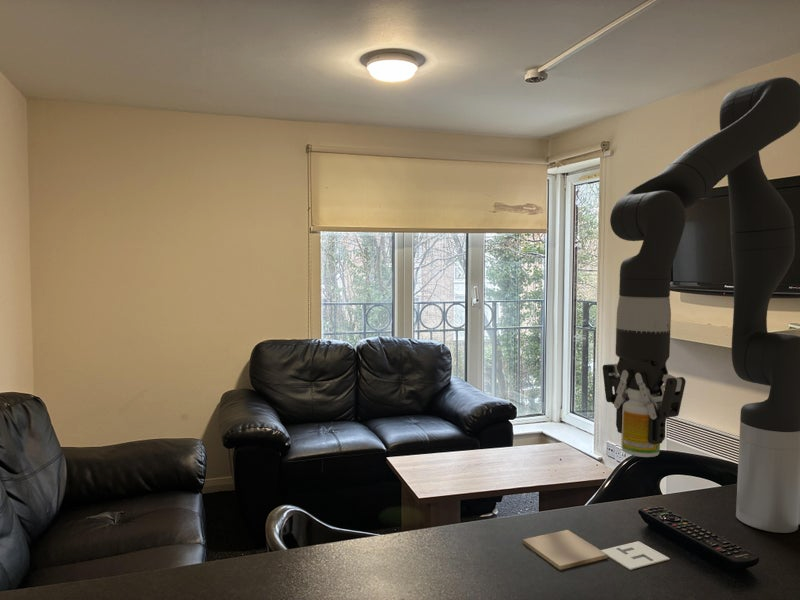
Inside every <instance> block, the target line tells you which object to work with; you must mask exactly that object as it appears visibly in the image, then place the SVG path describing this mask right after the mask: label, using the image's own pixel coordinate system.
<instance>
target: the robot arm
mask: <svg viewBox="0 0 800 600" xmlns="http://www.w3.org/2000/svg"><path fill="white" fill-rule="evenodd" d="M719 109H720V110H719V130H720V131H719V130H718V132H716V133H713V134H711V135H710V136H708V137H707V138H704V139H703V140H701V141H699V142H698V143H696V144H695V145H692V146H691V147H689V148H688V149H686V150H685V151H684V152H683V153H682V154H680V155H679V156H678V157H677V158H676V159H675V160H673V161H672V162H671V163H670V164H668V165H667V166H666V167H665V168H664V170H662V172H660V173H658V174H657V175H655V176H654V177H652V178H650V179H648V180H646V181H645V182H642V183H641V184H639V185H638V186H636V187H634V188H633V189H630V190H629V191H628V192H626V193H625V194H624V195H622V197H620V198H619V199H618V201H616V203H615V204H614V206H613V208H612V210H611V213H610V220H609V221H610V222H609V223H610V229H611V230H612V232H613V233H614V234H615V236H617V238H619V239H621V240H624V241H628V242H629V241H630V242H640V241H641V242H642V241H643V242H642V245H641V247H640V249H639V252H638V253H637V254H636V255H634V256H631V257H628V258H625V259H624V260H623V261H622V262H621V264H620V268H619V289H618V292H619V293H618V295H619V296H618V303H617V307H616V324H615V325H616V327H615V356H616V357H618V358H619V359H618V362H617V363H610V364H609V363H607V364H604V365H603V366H602V377H603V385H604V386H603V387H604V395H605V400H606V402H607V403H611V404H612V405H613V406H614V408H615V409H616V410H615V411H616V413H615V414H616V415H615V417H616V418H615V419H616V421H615V426H616V430H617V433H618V434H621V435H622V410H623V404H624V403H625V402H626V401H629V397H628V388H631V389H635V390H639V391H640V392H641V395H642V399H643V402H644V403H645V404H646V405H647V408H648V411H649V415H650V418H651V419H649V432H648V442H649V443H651V444H660V445H661V444H662V443H663V442H664V441H665V439H666V423H667V419H668V418H674V417H676V418H677V417H678V416H679V415H680V410H681V407H682V401H683V395H684V392H685V391H684V390H685V387H686V379H685V378H684V377H683V376H677V377H676V376H674V375H672V374H669V372H668V371H669V370H668V369H667V361H668V360H669V358H670V355H671V354H670V350H671V327H672V326H671V321H672V309H671V302H670V301H671V300H670V298H671V297H670V296H671V271H672V267H673V264H674V262H675V258H676V255H677V251H678V249H679V245H680V243H681V239H682V237H683V233H684V229H685V226H686V209H689V208H691V207H692V206H694V205H695V204H697V203H698V202H699V201H700V200H701V199H703V198H704V197H705V196H706V195H707V194H708V193H709V192H711V190H712V189H714V187H716V185H717V184H719V183H720V182H721V181H722V180H723V179H724V178H725V177H726V176H727V185H728V187H727V188H728V196H729V197H728V199H729V200H728V201H729V214H730V217H729V218H730V221H729V222H730V224H729V225H730V227H729V229H730V247H731V248H730V249H731V259H732V260H731V261H732V271H733V272H732V273H733V274H732V275H733V280H732V281H733V312H732V313H733V316H732V329H731V330H732V332H731V362H732V367H733V370H734V372H735V374H736V375H737V376H738V378H739V379H741V380H743V381H745V382H749V383H753V384H759V385H761V386H763V385H764V386H767V387H770V388H769V392H768V393H769V394H768V397H767V399H765V400H763V401H759V402H757V401H756V402H750V403H749V402H748V403H745V404H744V405H743V406H742V407H741V408H740V420H739V421H740V422H739V438H738V439H739V441H738V462H737V465H738V466H737V482H736V488H737V489H736V506H735V508H736V509H735V511H736V512H735V517H736V519H738V520H739V521H740V522H741V523H743V524H745V525H747V526H750V527H751V528H754V529H758V530H762V531H766V532H771V533H779V534H780V533H781V534H788V533H789V534H790V533H793V532H796V531H798V529H799V525H800V335H793V334H787V333H777V332H768V323H767V322H768V319H767V318H768V310H769V304H770V301H771V299H772V296H773V295H774V292H775V291H776V290H777V288H778V287H779V285H780V283H781V282H782V280H783V279H784V277H785V276H786V274H787V273H788V270H789V269H790V268H791V266H792V263H793V261H794V258H795V251H796V242H795V222H794V215H793V213H792V211H791V209H790V207H789V205H788V204H787V202H786V201H785V199H784V197H782V196H781V194H780V193H779V192H778V190H777V189H776V188H775V187H774V185H772V183H771V182H770V180H769V179H768V177H767V175H766V173H765V171H764V169H763V166H762V163H761V162H762V161H761V156H760V151H762V150H763V149H764V148H766V147H767V146H768V145H770V144H772V143H774V142H775V141H777V140H779V139H780V138H782V137H784V136H786V135H787V134H789V133H790V132H792V131H793V130H795V128H796V127H798V125H799V124H800V83H799V82H798V81H797V80H796V79H793V78H791V77H787V76H783V77H781V76H780V77H774V78H773V77H772V78H770V79H765V80H762V81H759V82H756V83H752V84H749V85H746V86H745V85H744V86H743V87H742V86H741V87H739V88H735V89H733V90H732V91H729V92H728V93H727V94H726V95H725V96H724V98H723V99H722V102H721V105H720V107H719ZM652 394H656V397H652V396H651V395H652ZM655 403H656V404H657V408H658V410H657V408H656V404H655Z"/></svg>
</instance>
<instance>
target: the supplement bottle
mask: <svg viewBox="0 0 800 600" xmlns="http://www.w3.org/2000/svg"><path fill="white" fill-rule="evenodd" d="M651 396H652V397H656V394H652V395H651ZM628 397H629V401H626V402H625V403H624V404H623V410H622V434H621V443H620V444H621V445H620V446H621V447H620V448H621V451H623V452H624V453H626V454H628V455H631V456H635V457H640V458H641V457H642V458H652V457H653V458H654V457H656V456H658V455H659V454H660V450H661V449H660V448H661V444H651V443H649V442H648V432H649V419H651V418H650V415H649V411H648V408H647V405H646V404H645V403H644V402H643V399H642V395H641V392H640V391H639V390H635V389H631V388H628ZM655 404H656V403H655ZM656 408H657V404H656ZM657 410H658V408H657Z"/></svg>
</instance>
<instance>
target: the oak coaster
mask: <svg viewBox="0 0 800 600" xmlns="http://www.w3.org/2000/svg"><path fill="white" fill-rule="evenodd" d="M522 544H523V545H525V546H526V547H527V548H528V549H530V550H531V551H533V552H534V553H536V554H537V555H538V556H540V557H541V558H542V559H544V560H545V561H547V562H548V563H550V564H551V565H552V566H553V567H555V568H556V569H558V570H559V571H561V570H562V571H563V570H565V569H570V568H574V567H577V566H581V565H586V564H590V563H594V562H598V561H601V560H606V559H608V556H607V554H606V553H604V552H603V551H601V550H602V549H599V548H598V547H597V546H594V545H593V544H591V543H590V542H588V541H586V540H585V539H584V538H582V537H580V536H578V535H577V534H575V533H574V532H572V531H570V530H569V529H565V530H561V531H556V532H550V533H545V534H542V535H538V536H532V537H528V538H523V539H522Z"/></svg>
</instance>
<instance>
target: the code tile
mask: <svg viewBox="0 0 800 600" xmlns="http://www.w3.org/2000/svg"><path fill="white" fill-rule="evenodd" d="M600 550H601V551H603V552H604V553H606V554H607V558H609V559H611V560H613V561H614V562H616V563H618V564H619V565H620V566H623V567H624V568H626V569H627V570H629V571H632V570H635V569H638V568H643V567H646V566H650V565H654V564H655V565H656V564H658V563H662V562H665V561H669V560H670V557H668V556H667V555H665V554H663V553H661V552H659V551H657V550H655V549H654V548H651V547H649V546H648V545H646V544H644V543H643V542H641V541H634V542H629V543H626V544H621V545H617V546H613V547H609V548H604V549H600Z"/></svg>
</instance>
